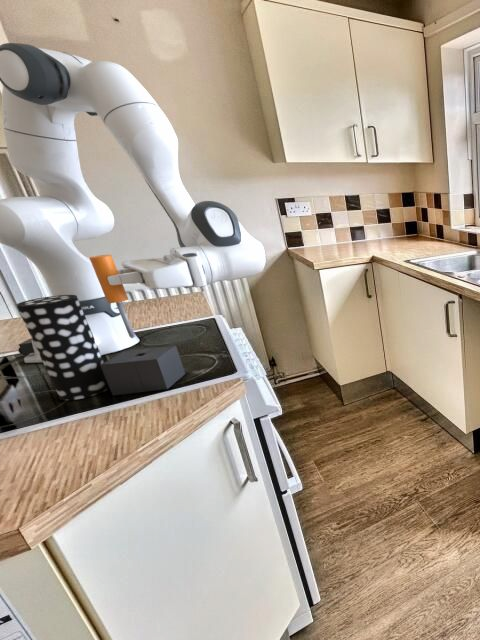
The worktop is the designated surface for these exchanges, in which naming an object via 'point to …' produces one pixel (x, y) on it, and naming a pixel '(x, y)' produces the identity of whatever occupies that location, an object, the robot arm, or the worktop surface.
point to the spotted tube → (65, 345)
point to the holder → (143, 370)
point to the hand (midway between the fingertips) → (104, 279)
